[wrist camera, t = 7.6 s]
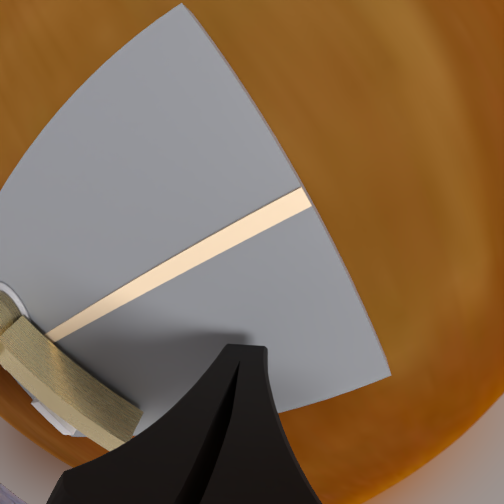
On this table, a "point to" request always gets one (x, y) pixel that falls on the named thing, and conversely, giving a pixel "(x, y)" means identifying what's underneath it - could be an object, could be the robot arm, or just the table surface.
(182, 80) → the lock board
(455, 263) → the table surface
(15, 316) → the bar
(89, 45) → the table surface
